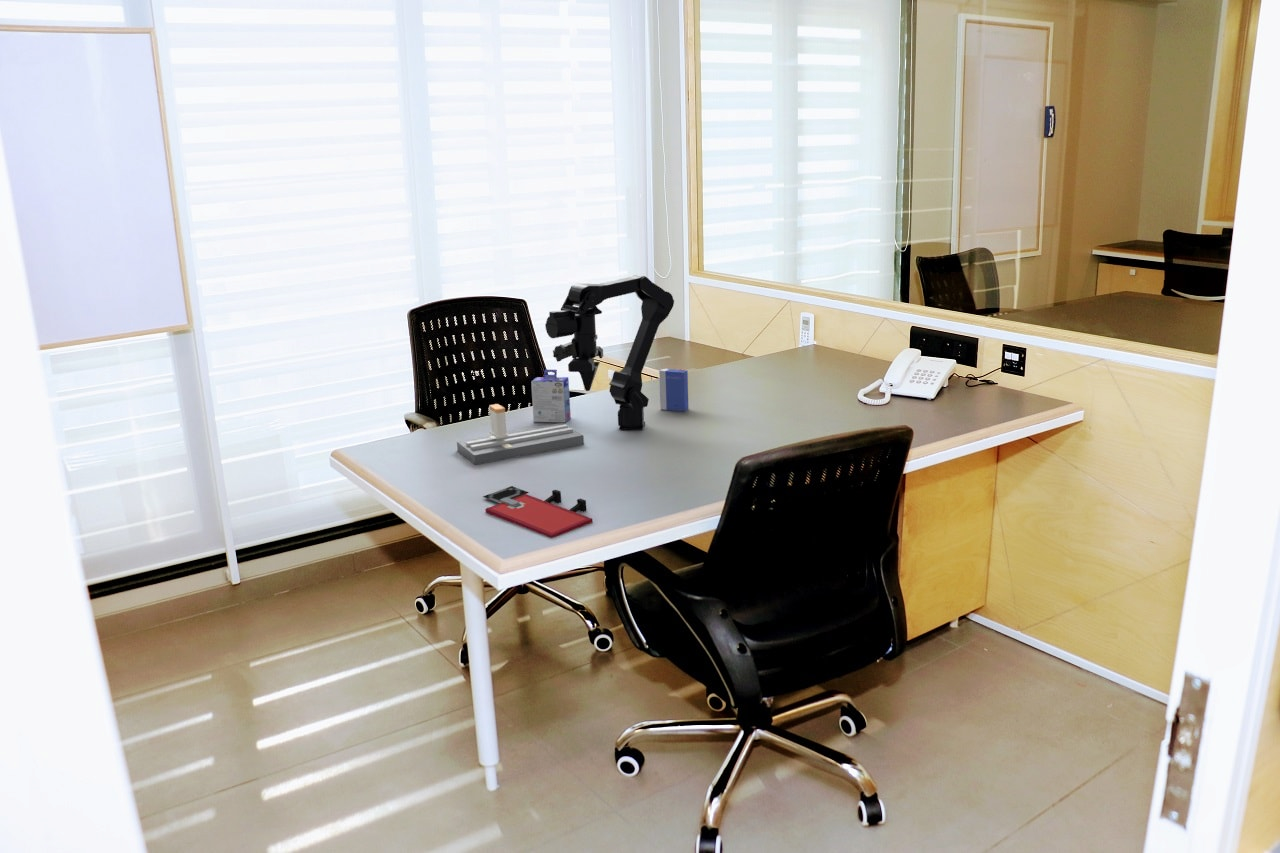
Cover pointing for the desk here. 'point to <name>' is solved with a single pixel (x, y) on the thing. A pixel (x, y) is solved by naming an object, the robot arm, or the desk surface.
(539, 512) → the red board with handle
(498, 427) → the fader lever
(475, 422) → the desk surface
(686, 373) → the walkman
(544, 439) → the fader console
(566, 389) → the ink cartridge box
